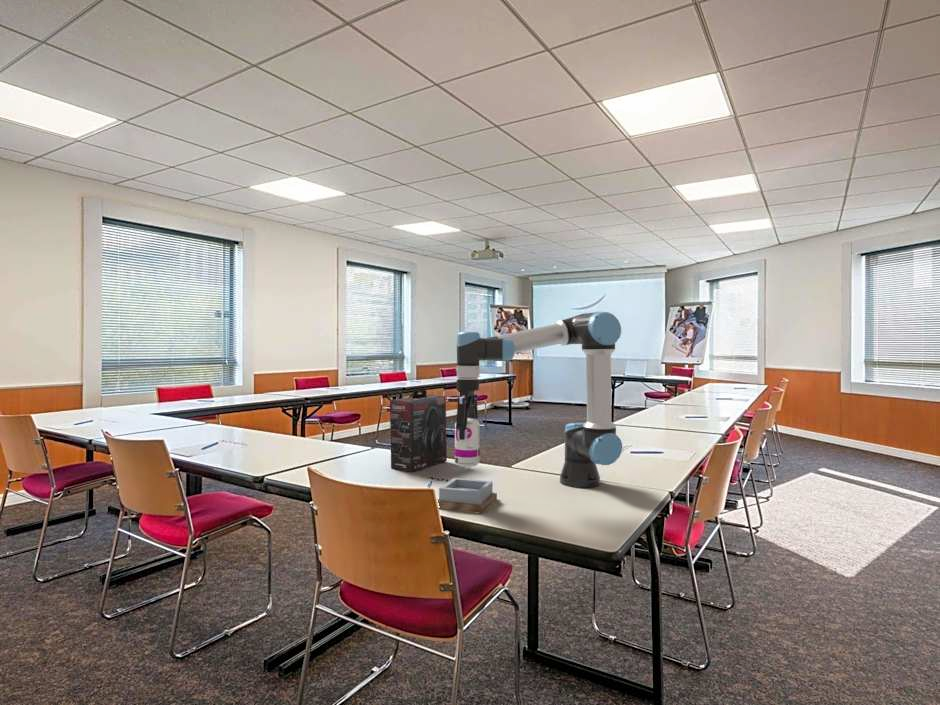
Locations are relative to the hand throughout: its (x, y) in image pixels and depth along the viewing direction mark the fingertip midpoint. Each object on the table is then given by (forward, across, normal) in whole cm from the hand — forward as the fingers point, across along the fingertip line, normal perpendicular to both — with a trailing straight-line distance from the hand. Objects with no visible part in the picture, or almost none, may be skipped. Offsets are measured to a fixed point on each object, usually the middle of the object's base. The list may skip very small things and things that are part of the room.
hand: (467, 446), depth 174 cm
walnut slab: (+20, 0, 0) cm, 20 cm away
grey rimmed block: (+17, 0, 0) cm, 17 cm away
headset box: (+19, -45, -38) cm, 62 cm away
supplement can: (+6, 0, 0) cm, 6 cm away
